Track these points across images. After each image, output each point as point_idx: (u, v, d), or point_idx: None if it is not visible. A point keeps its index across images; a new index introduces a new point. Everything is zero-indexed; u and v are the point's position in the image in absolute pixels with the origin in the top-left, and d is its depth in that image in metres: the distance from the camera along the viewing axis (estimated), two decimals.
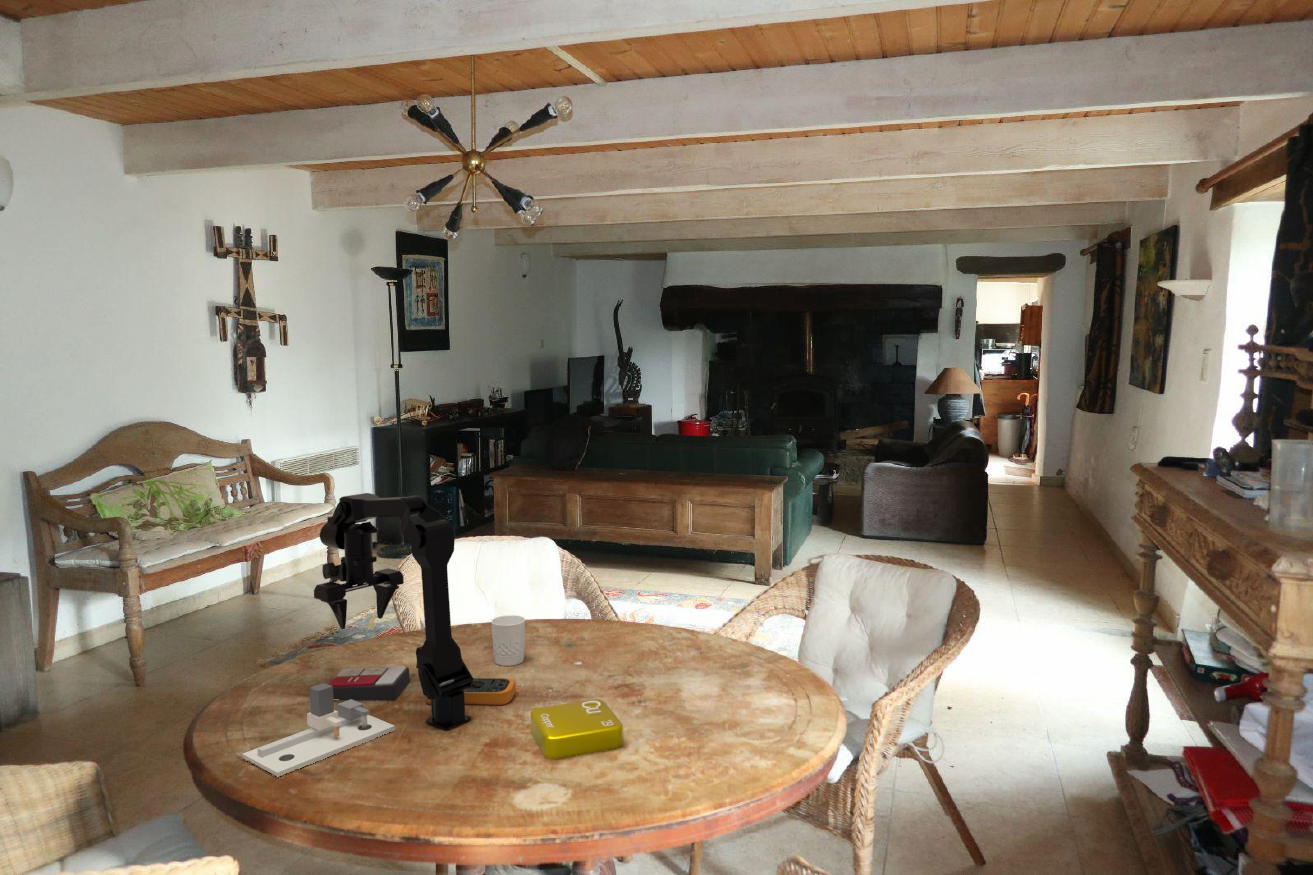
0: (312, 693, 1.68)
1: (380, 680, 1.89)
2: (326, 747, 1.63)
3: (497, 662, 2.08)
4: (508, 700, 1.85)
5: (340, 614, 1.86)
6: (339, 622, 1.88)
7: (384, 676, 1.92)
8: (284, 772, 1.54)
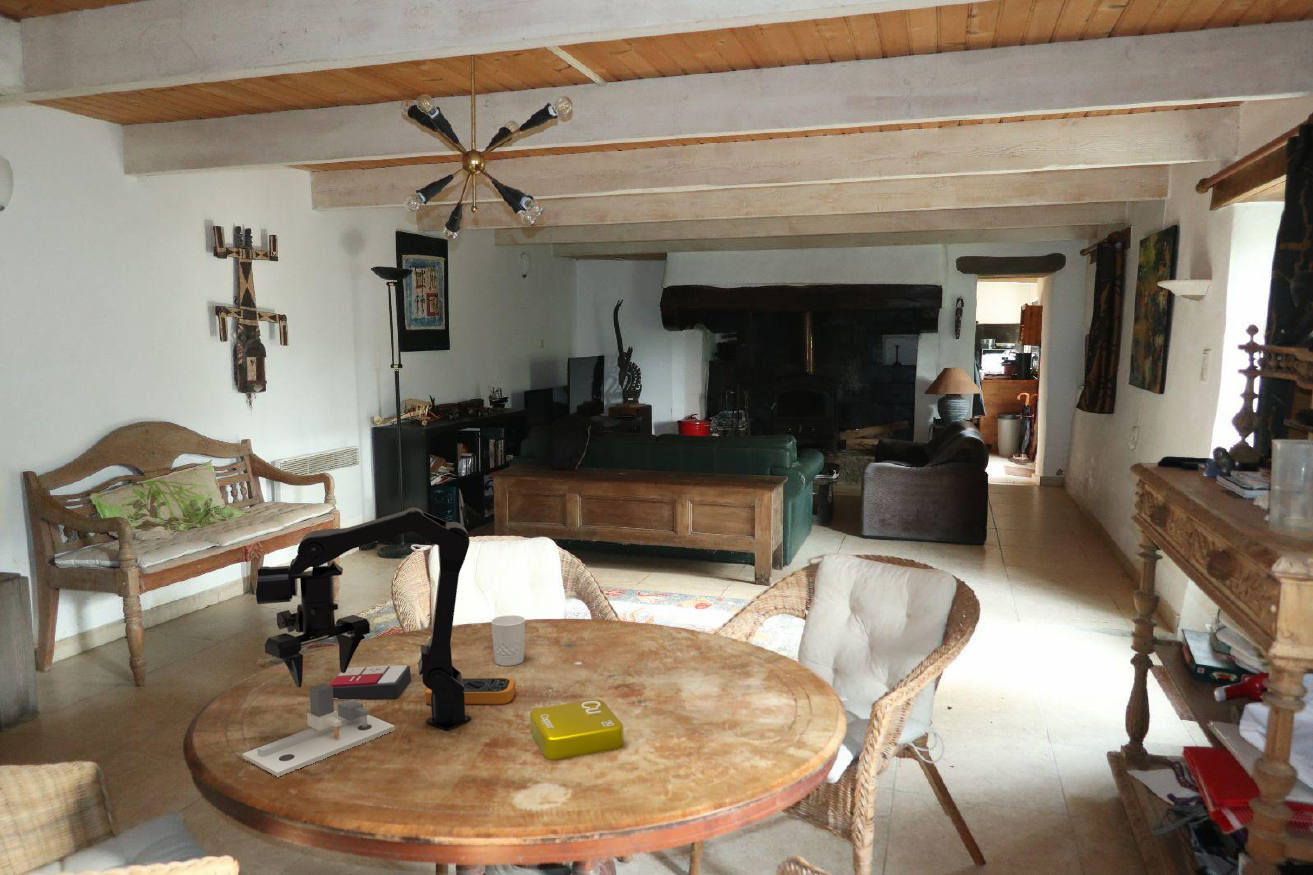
0: (312, 693, 1.68)
1: (382, 679, 1.90)
2: (326, 747, 1.63)
3: (497, 662, 2.08)
4: (510, 700, 1.86)
5: (295, 671, 1.63)
6: (294, 679, 1.64)
7: (386, 675, 1.92)
8: (284, 772, 1.54)
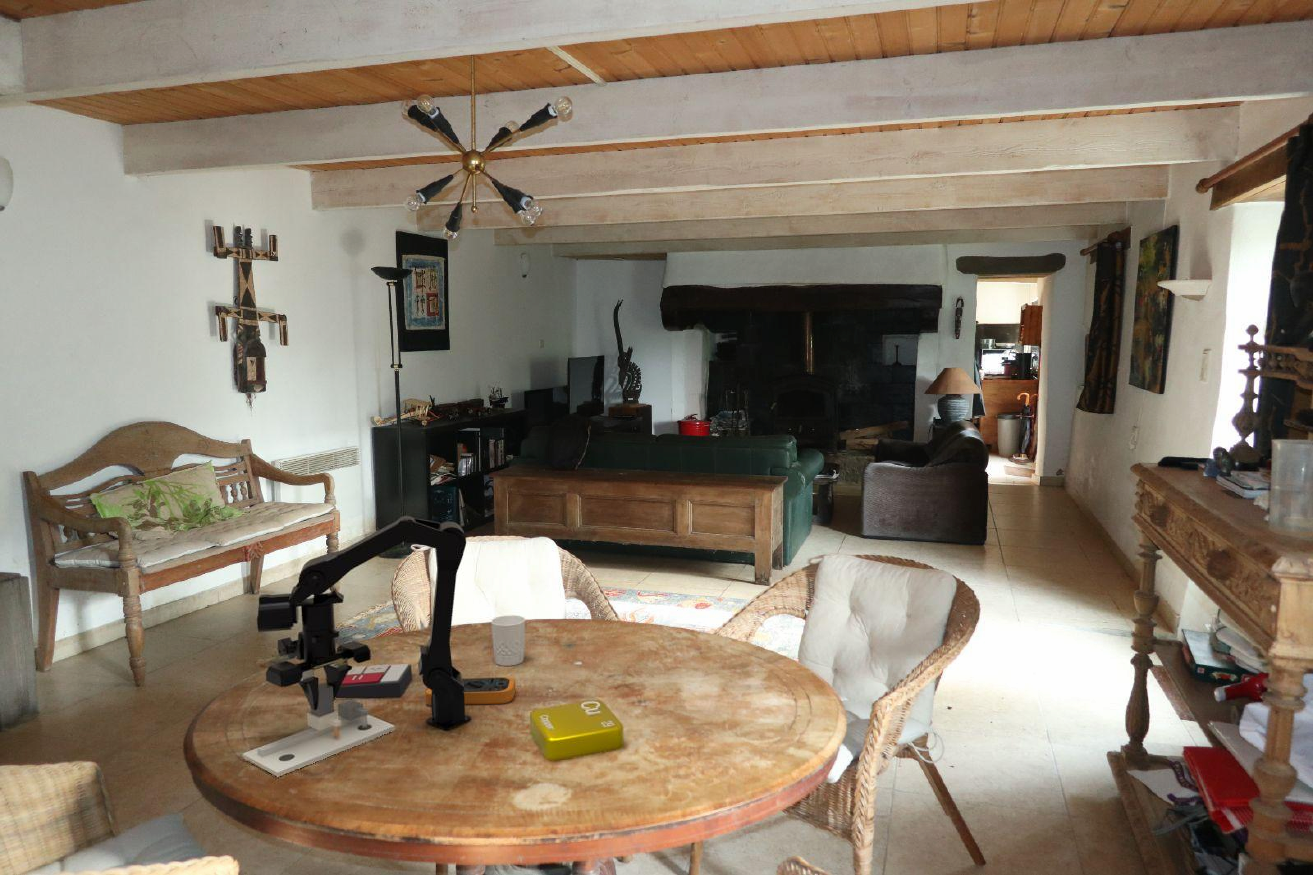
0: None
1: (385, 678, 1.91)
2: (326, 747, 1.63)
3: (497, 662, 2.08)
4: (511, 699, 1.86)
5: (311, 694, 1.65)
6: (310, 702, 1.67)
7: (388, 674, 1.93)
8: (284, 772, 1.54)
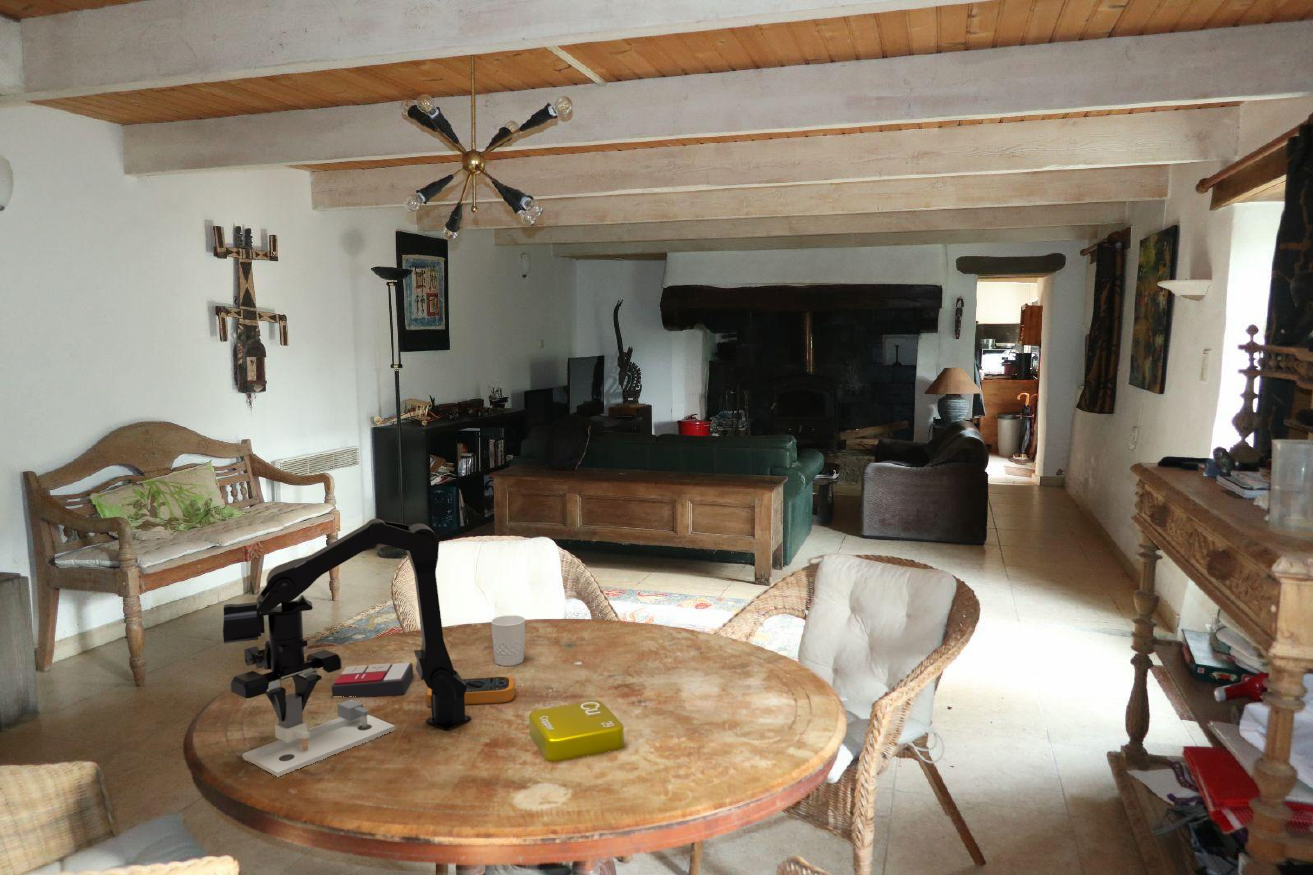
0: None
1: (388, 676, 1.92)
2: (326, 747, 1.63)
3: (497, 662, 2.08)
4: (512, 697, 1.87)
5: (278, 705, 1.60)
6: (277, 713, 1.62)
7: (390, 672, 1.94)
8: (284, 772, 1.54)
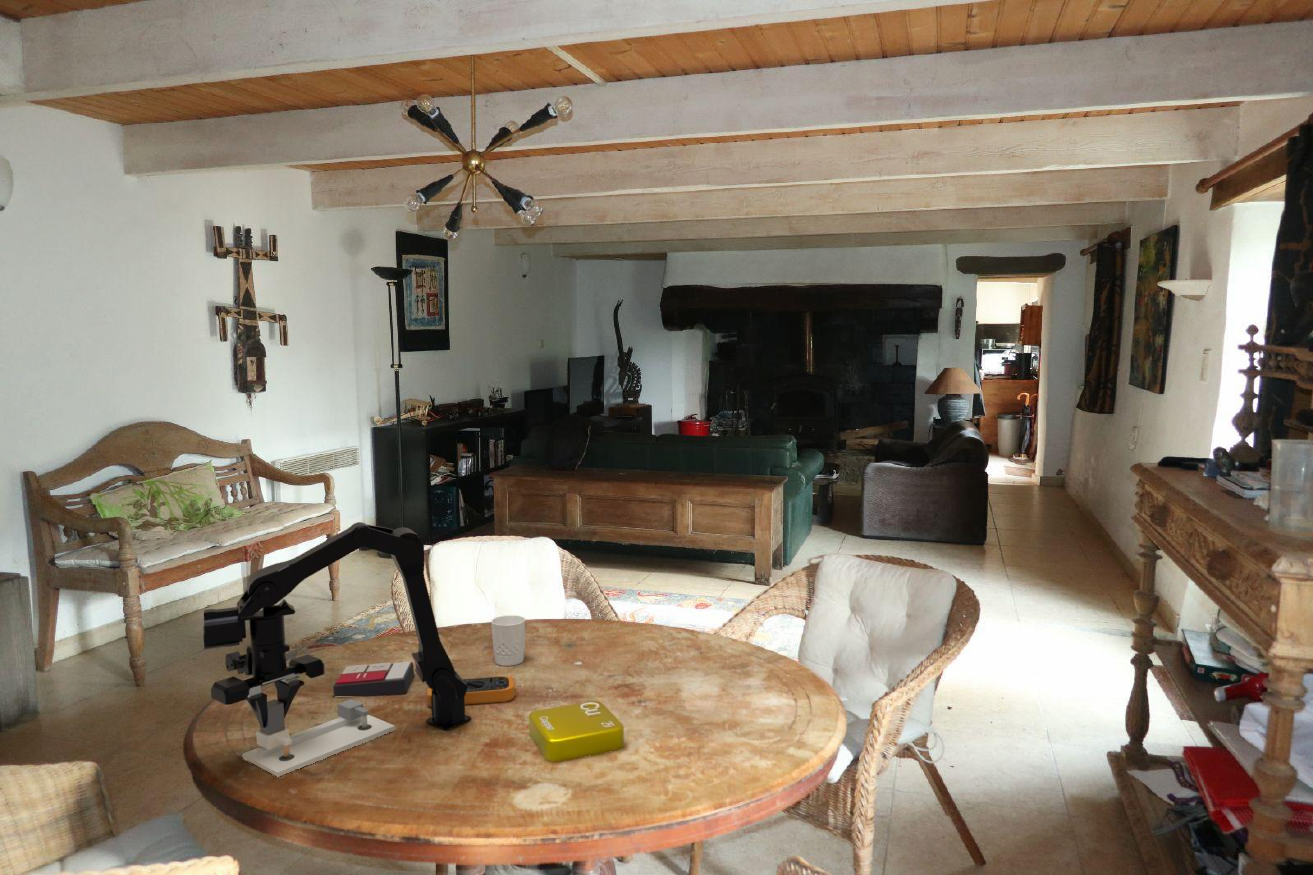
0: None
1: (389, 675, 1.92)
2: (326, 747, 1.63)
3: (497, 662, 2.08)
4: (513, 696, 1.87)
5: (259, 711, 1.58)
6: (259, 720, 1.59)
7: (392, 671, 1.94)
8: (284, 772, 1.54)
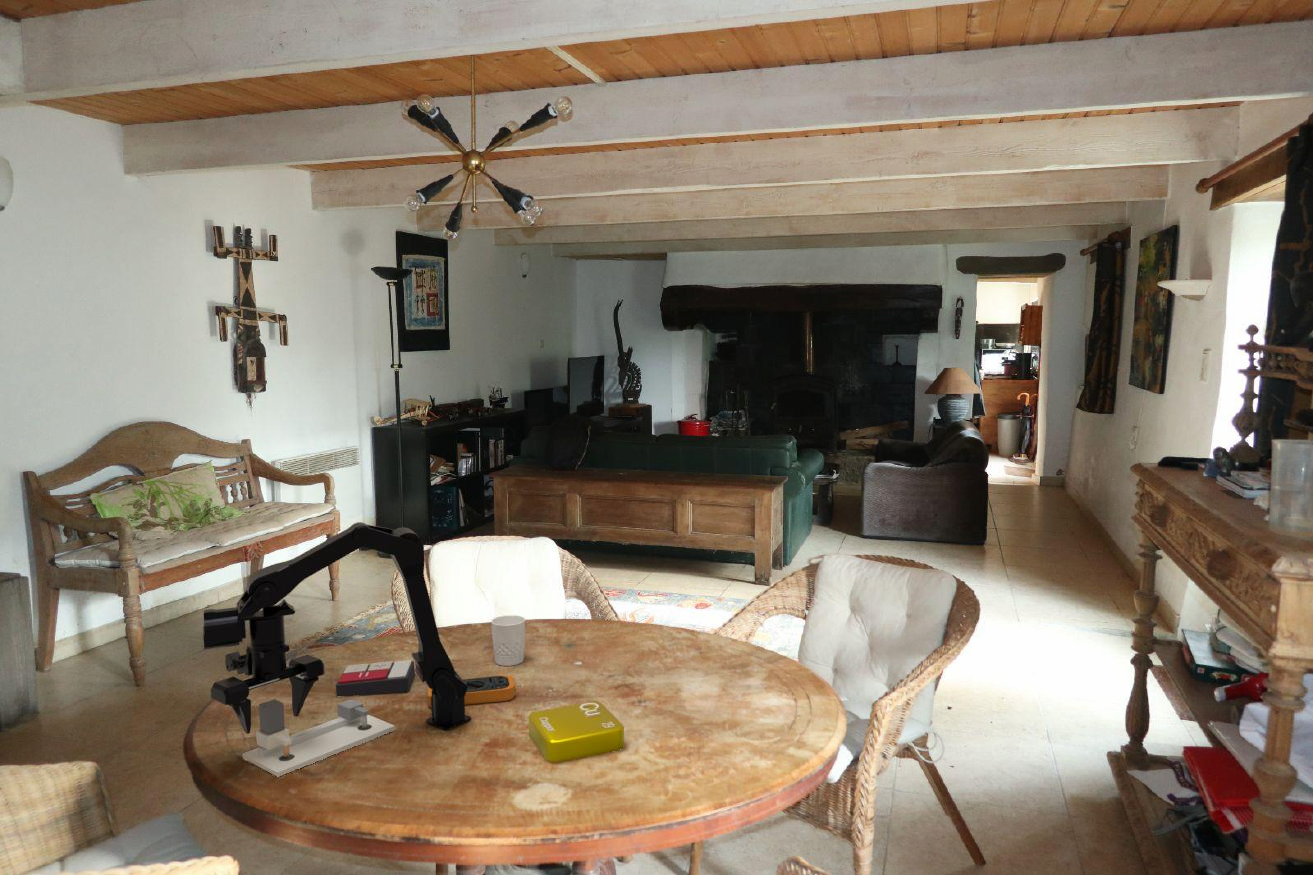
0: (261, 710, 1.60)
1: (391, 674, 1.93)
2: (326, 747, 1.63)
3: (497, 662, 2.08)
4: (514, 695, 1.88)
5: (243, 717, 1.55)
6: (243, 725, 1.57)
7: (393, 670, 1.95)
8: (284, 772, 1.54)
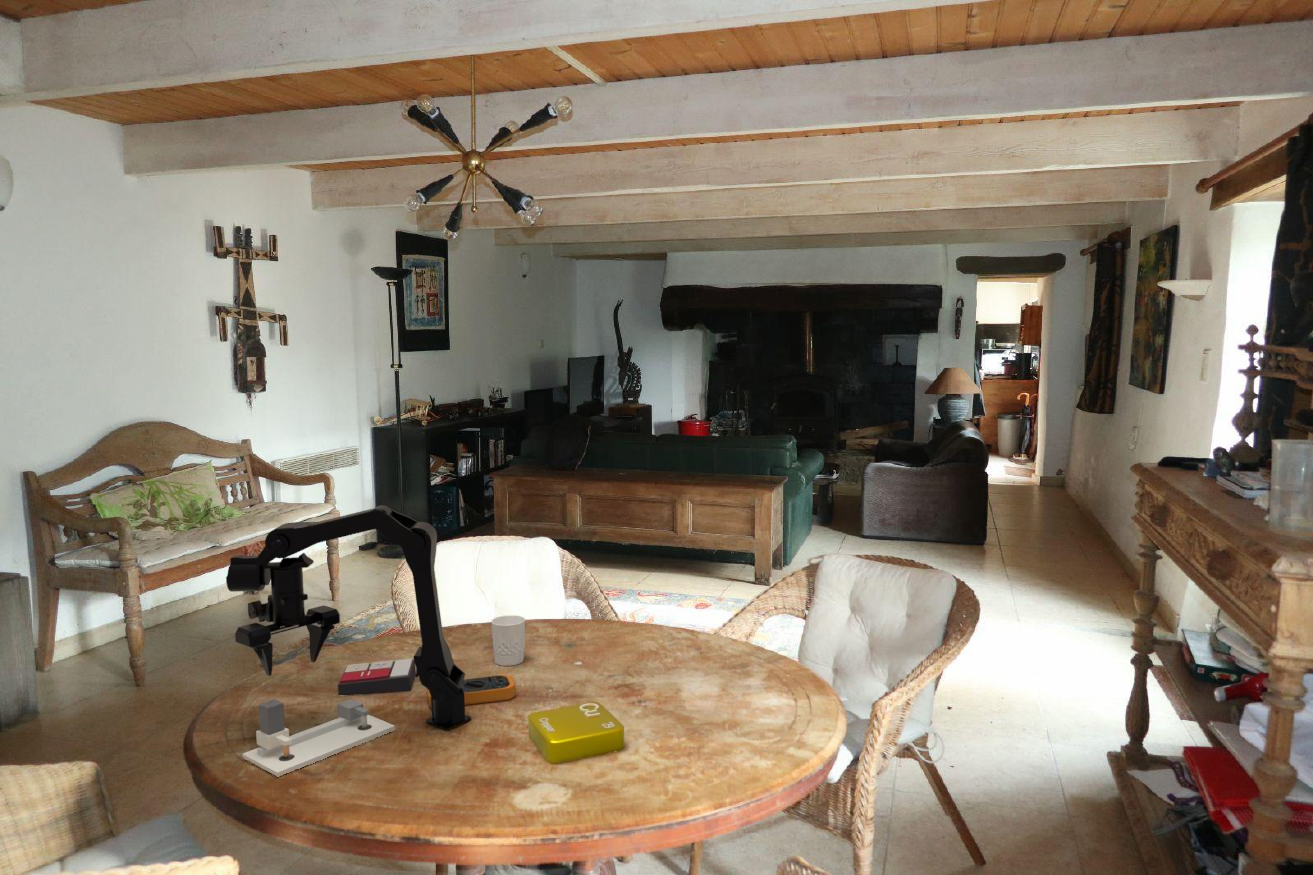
0: (261, 710, 1.60)
1: (393, 672, 1.94)
2: (326, 747, 1.63)
3: (497, 662, 2.08)
4: (514, 694, 1.88)
5: (265, 659, 1.67)
6: (265, 668, 1.69)
7: (395, 669, 1.96)
8: (284, 772, 1.54)
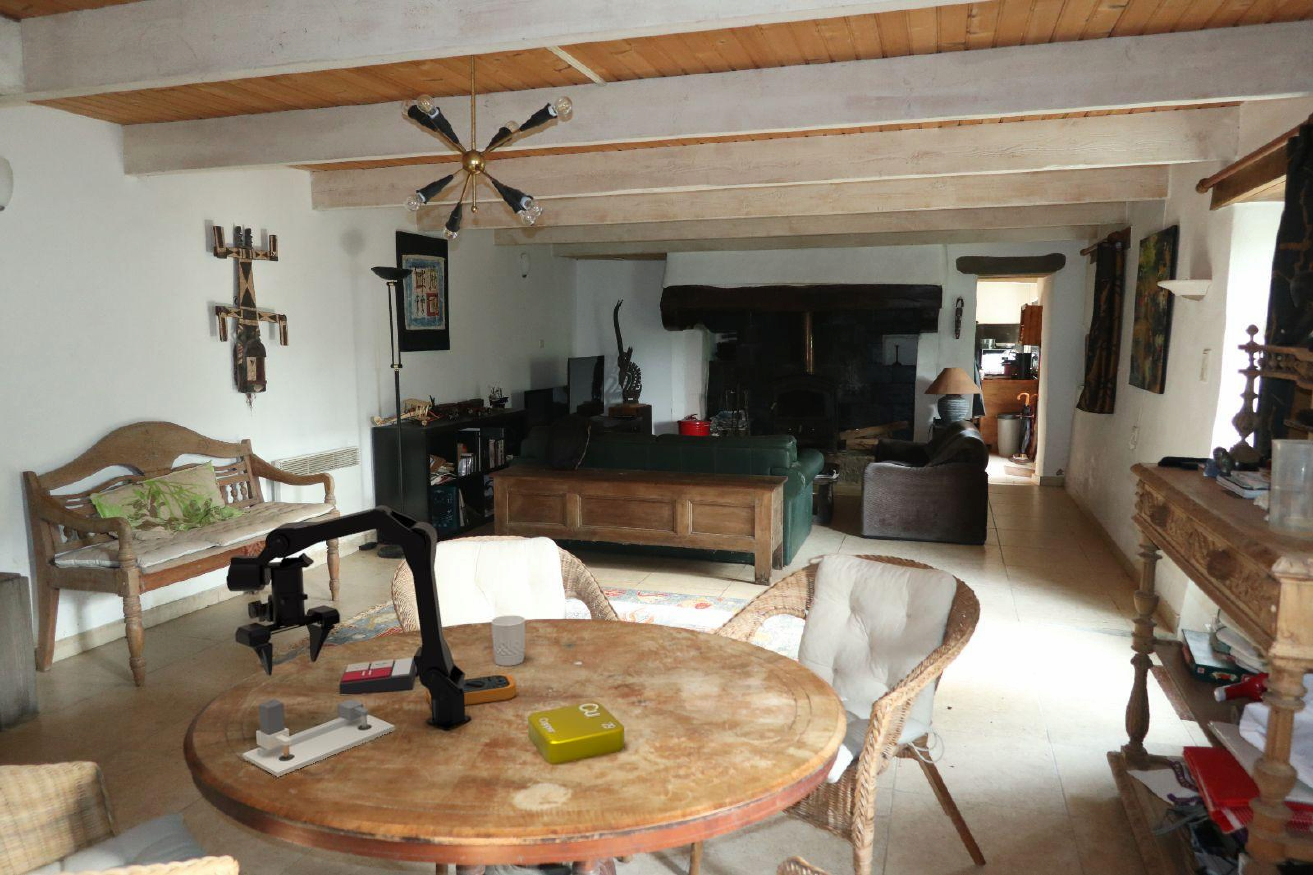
0: (261, 710, 1.60)
1: (395, 672, 1.94)
2: (326, 747, 1.63)
3: (497, 662, 2.08)
4: (514, 694, 1.89)
5: (265, 659, 1.67)
6: (265, 668, 1.69)
7: (396, 668, 1.97)
8: (284, 772, 1.54)
